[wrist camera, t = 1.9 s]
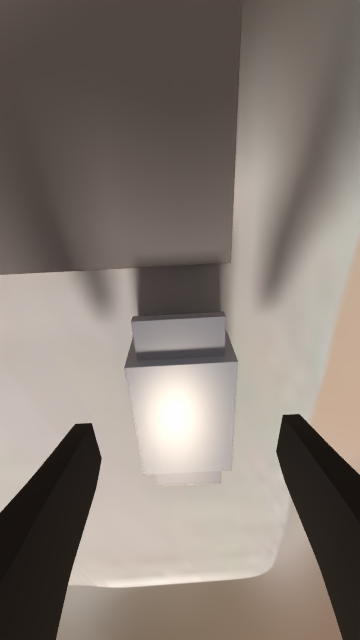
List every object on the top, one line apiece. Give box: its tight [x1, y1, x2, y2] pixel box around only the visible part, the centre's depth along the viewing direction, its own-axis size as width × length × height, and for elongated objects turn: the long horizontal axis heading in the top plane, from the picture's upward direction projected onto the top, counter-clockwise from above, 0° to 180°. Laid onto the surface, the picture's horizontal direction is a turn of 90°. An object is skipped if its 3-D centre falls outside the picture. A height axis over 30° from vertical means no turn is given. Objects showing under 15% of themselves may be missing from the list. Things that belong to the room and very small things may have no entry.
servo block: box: [124, 311, 238, 487], centre depth 12 cm, size 4×9×4 cm, turn 3°
